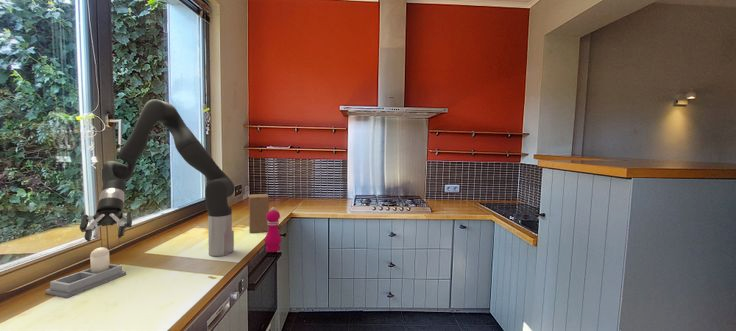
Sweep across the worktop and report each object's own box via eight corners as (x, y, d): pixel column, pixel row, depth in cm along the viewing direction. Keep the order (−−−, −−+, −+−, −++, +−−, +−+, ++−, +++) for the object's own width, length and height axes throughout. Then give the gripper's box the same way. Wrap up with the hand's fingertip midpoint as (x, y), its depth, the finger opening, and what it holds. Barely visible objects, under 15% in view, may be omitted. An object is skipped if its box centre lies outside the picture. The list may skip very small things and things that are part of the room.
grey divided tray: (126, 274, 102) (125, 265, 102) (67, 297, 86) (66, 286, 85) (106, 271, 104) (106, 261, 104) (45, 293, 88) (44, 282, 88)
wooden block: (268, 231, 157) (268, 196, 156) (249, 233, 154) (249, 197, 152) (267, 227, 167) (267, 193, 165) (249, 228, 163) (249, 194, 162)
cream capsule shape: (113, 273, 100) (112, 246, 100) (97, 279, 95) (96, 250, 95) (103, 271, 101) (102, 244, 101) (87, 277, 97) (86, 249, 96)
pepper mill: (284, 248, 132) (284, 206, 131) (274, 253, 125) (274, 209, 124) (271, 246, 134) (271, 205, 133) (261, 251, 128) (261, 207, 126)
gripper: (84, 198, 105) (74, 236, 96) (132, 195, 113) (127, 230, 104) (89, 209, 110) (80, 246, 101) (135, 206, 117) (131, 240, 108)
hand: (104, 238), depth 102 cm, fingers open, 8 cm apart
